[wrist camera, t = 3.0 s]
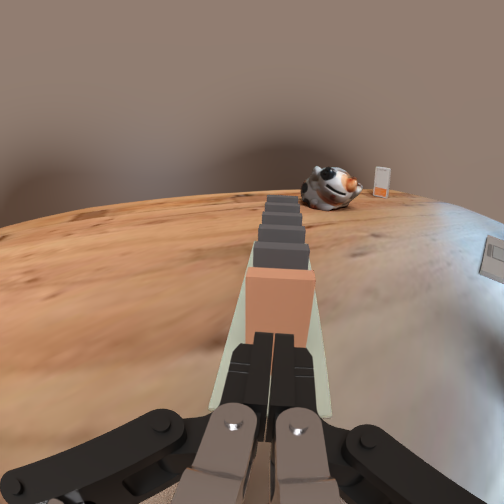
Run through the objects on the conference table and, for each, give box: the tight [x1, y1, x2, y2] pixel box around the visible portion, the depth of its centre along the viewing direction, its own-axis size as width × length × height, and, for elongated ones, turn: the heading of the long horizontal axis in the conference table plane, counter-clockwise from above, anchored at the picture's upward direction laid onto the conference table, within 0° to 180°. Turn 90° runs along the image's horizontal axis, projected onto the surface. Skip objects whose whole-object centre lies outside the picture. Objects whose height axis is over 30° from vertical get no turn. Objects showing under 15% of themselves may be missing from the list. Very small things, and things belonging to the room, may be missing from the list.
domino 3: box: [262, 211, 302, 226], centre depth 38 cm, size 2×5×10 cm, turn 84°
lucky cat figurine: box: [301, 166, 363, 211], centre depth 81 cm, size 17×14×16 cm
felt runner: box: [208, 241, 332, 418], centre depth 37 cm, size 38×10×1 cm, turn 174°
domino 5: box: [253, 241, 310, 270], centre depth 28 cm, size 2×5×10 cm, turn 84°
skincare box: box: [373, 167, 391, 198], centre depth 104 cm, size 6×4×12 cm
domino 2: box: [265, 202, 300, 213], centre depth 43 cm, size 2×5×10 cm, turn 84°
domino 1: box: [267, 195, 298, 204], centre depth 48 cm, size 2×5×10 cm, turn 84°
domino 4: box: [258, 224, 306, 244], centre depth 33 cm, size 2×5×10 cm, turn 84°
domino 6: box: [245, 267, 316, 375], centre depth 23 cm, size 2×5×10 cm, turn 84°
